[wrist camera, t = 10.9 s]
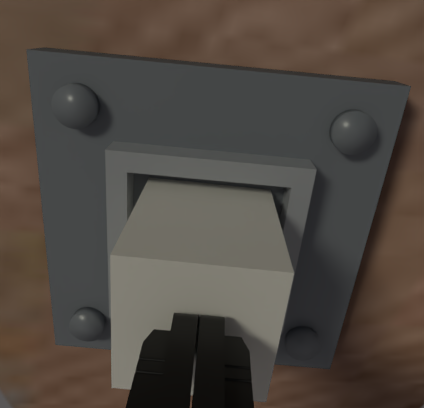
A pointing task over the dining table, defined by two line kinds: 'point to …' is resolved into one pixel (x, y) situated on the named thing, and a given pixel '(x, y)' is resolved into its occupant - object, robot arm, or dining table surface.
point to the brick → (200, 271)
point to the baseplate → (208, 172)
